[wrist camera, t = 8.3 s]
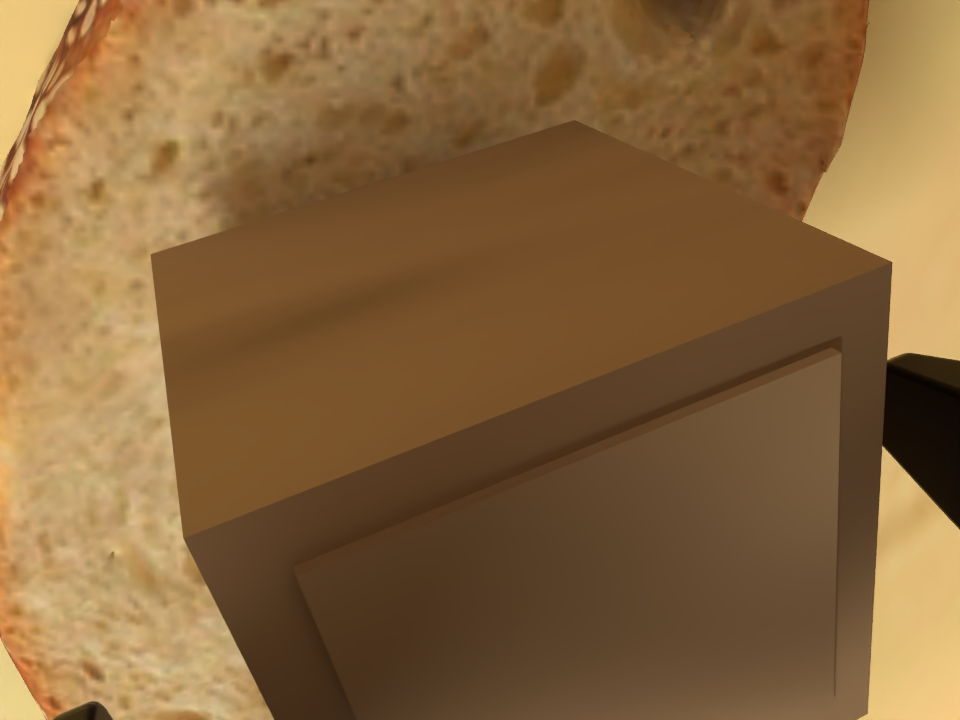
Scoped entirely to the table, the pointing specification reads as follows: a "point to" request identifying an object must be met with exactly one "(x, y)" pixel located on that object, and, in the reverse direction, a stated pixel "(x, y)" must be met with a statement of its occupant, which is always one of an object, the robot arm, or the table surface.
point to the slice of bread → (282, 187)
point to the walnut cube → (534, 443)
